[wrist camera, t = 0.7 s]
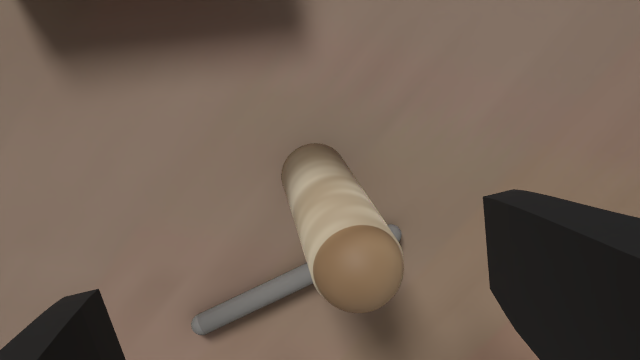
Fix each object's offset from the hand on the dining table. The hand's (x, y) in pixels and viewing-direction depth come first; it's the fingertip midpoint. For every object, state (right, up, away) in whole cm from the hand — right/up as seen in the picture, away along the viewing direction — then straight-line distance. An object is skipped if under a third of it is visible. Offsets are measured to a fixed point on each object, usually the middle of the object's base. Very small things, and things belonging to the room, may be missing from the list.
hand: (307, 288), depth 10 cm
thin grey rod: (-1, -2, +12) cm, 12 cm away
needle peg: (0, +2, +10) cm, 11 cm away
